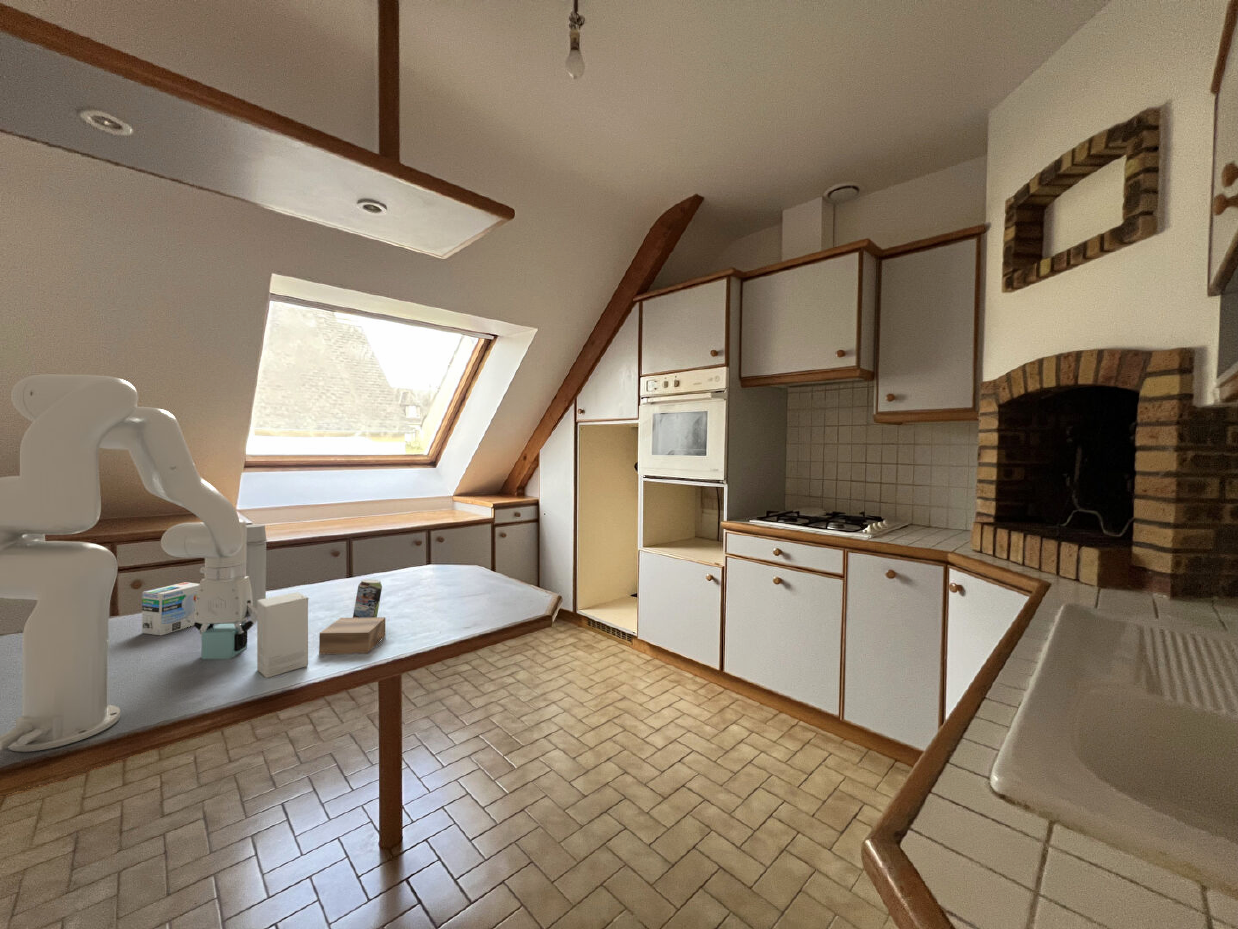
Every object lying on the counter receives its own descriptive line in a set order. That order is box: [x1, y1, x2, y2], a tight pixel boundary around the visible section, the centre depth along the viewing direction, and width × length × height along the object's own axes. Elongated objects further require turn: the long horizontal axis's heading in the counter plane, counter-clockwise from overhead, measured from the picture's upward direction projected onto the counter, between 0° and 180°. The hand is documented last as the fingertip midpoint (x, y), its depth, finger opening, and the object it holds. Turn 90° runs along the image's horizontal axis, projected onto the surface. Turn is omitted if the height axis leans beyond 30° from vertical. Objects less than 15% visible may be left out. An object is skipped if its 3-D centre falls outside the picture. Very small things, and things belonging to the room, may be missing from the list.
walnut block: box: [318, 616, 386, 655], centre depth 121 cm, size 11×11×5 cm
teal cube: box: [200, 623, 248, 660], centre depth 114 cm, size 6×6×6 cm
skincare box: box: [256, 591, 309, 679], centre depth 107 cm, size 8×7×16 cm
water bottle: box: [246, 523, 268, 609], centre depth 144 cm, size 9×8×25 cm
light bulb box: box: [141, 581, 200, 636], centre depth 129 cm, size 11×7×11 cm, turn 168°
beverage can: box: [352, 579, 383, 618], centre depth 137 cm, size 6×7×12 cm
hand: (224, 648), depth 114 cm, fingers closed on teal cube, 6 cm apart
